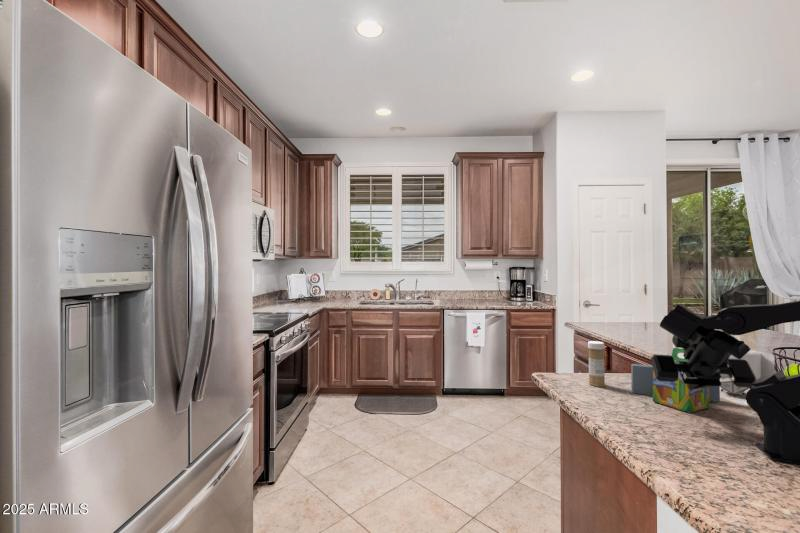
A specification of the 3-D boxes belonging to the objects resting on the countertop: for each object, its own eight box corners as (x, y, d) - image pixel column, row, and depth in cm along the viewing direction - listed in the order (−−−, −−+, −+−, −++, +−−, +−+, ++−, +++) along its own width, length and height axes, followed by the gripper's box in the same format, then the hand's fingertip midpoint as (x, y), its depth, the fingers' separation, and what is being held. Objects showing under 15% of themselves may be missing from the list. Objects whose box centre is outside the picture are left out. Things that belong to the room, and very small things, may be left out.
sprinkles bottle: (603, 383, 115) (603, 341, 115) (605, 388, 111) (605, 343, 111) (587, 382, 117) (587, 340, 117) (589, 386, 113) (588, 342, 113)
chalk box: (651, 402, 99) (651, 347, 99) (672, 396, 103) (671, 344, 103) (690, 414, 91) (689, 354, 91) (711, 408, 94) (710, 351, 94)
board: (719, 402, 98) (719, 372, 98) (633, 393, 106) (632, 365, 106) (716, 399, 100) (715, 370, 100) (631, 390, 108) (631, 363, 108)
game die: (742, 409, 103) (768, 387, 97) (710, 396, 105) (734, 375, 99) (730, 385, 110) (754, 364, 105) (700, 374, 112) (722, 353, 106)
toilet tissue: (707, 376, 122) (707, 346, 122) (748, 378, 120) (748, 347, 120) (731, 386, 111) (730, 354, 111) (776, 388, 109) (776, 355, 109)
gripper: (747, 324, 83) (722, 361, 94) (652, 322, 89) (638, 357, 99) (771, 368, 76) (741, 403, 86) (666, 362, 81) (649, 395, 91)
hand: (689, 387), depth 91 cm, fingers closed
